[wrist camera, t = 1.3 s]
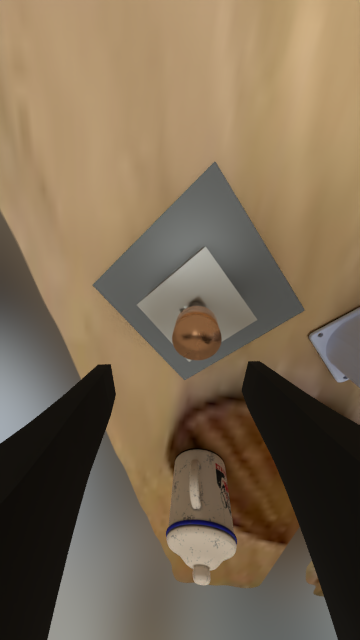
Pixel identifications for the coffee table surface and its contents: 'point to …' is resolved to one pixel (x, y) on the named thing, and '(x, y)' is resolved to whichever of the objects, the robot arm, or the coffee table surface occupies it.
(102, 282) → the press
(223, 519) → the teacup with lid
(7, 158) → the coffee table surface
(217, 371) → the coffee table surface
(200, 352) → the plunger
